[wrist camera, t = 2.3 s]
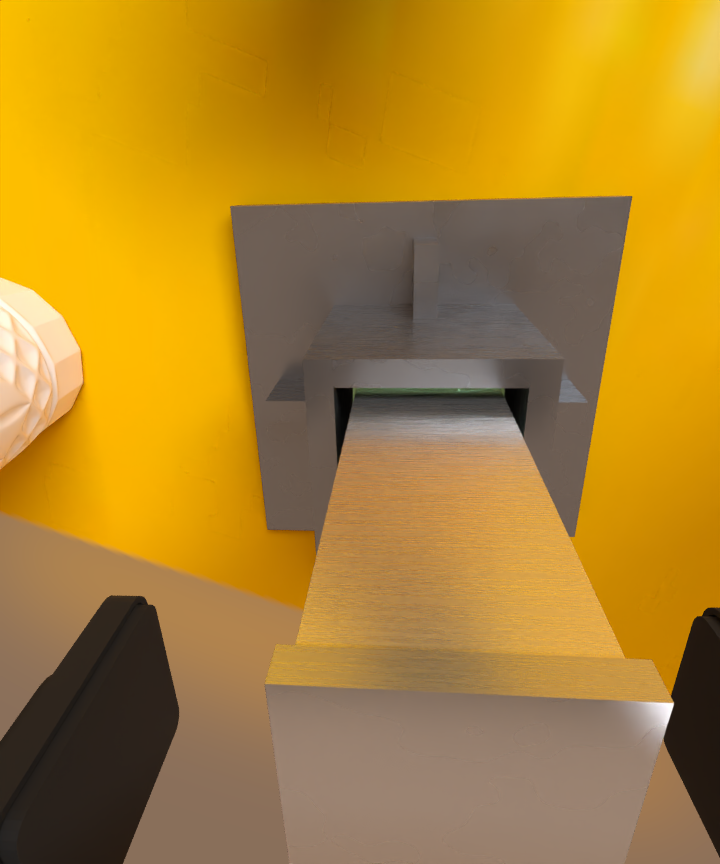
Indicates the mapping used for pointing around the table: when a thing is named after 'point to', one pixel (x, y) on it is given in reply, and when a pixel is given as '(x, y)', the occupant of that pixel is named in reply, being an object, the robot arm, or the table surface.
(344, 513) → the post
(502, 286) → the stand base
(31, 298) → the white cup
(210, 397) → the table surface
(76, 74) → the table surface
